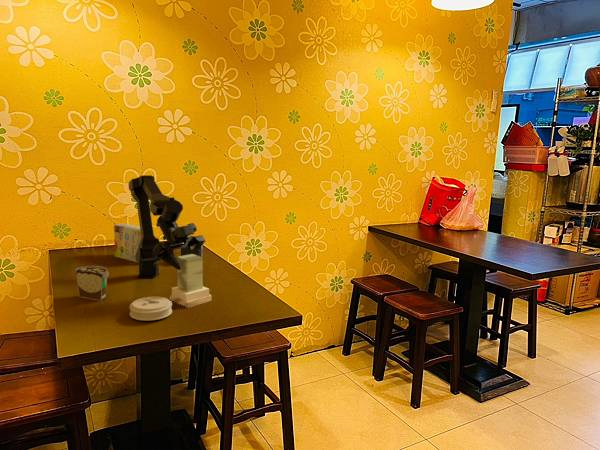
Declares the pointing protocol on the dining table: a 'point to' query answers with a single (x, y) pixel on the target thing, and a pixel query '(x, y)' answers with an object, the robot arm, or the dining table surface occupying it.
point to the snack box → (126, 241)
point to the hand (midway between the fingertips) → (191, 266)
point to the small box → (186, 251)
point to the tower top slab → (190, 293)
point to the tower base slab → (192, 302)
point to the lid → (150, 308)
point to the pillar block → (190, 272)
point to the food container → (92, 282)
